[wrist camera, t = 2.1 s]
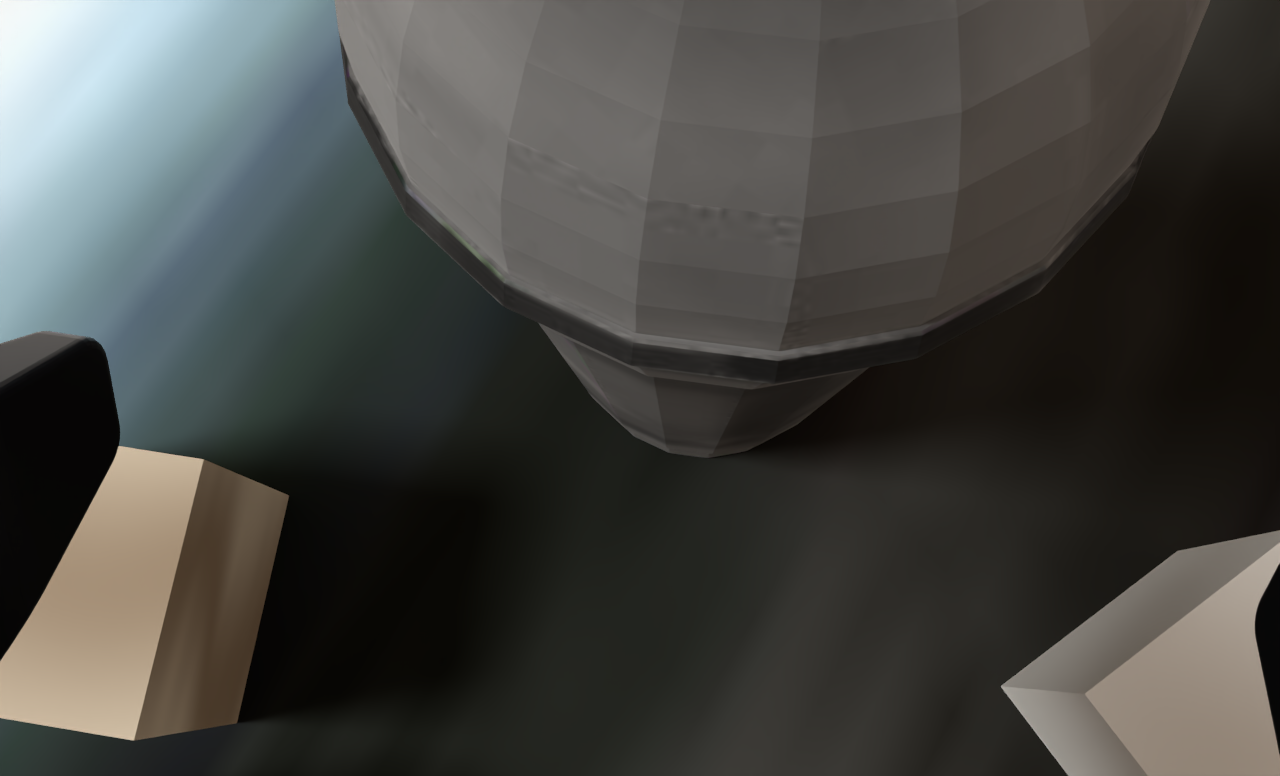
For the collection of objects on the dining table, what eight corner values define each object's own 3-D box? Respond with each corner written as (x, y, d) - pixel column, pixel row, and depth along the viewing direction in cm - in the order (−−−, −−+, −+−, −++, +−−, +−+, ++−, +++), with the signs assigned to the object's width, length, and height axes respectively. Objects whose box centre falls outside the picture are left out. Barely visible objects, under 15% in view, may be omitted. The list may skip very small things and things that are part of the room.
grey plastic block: (1333, 744, 19) (1505, 767, 15) (1153, 890, 19) (1284, 952, 15) (1175, 551, 20) (1301, 525, 16) (998, 685, 19) (1084, 694, 15)
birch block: (239, 722, 19) (134, 740, 16) (17, 686, 20) (-141, 693, 16) (290, 495, 20) (203, 459, 16) (78, 463, 21) (-57, 418, 17)
